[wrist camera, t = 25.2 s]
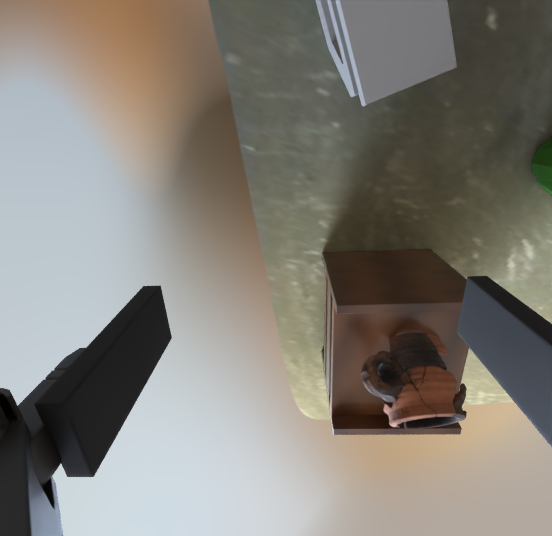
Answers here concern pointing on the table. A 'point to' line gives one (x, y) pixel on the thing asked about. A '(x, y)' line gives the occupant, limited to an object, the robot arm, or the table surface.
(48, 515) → the robot arm
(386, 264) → the shelf
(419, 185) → the table surface
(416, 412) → the pottery mug
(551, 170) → the bell pepper
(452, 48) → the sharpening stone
